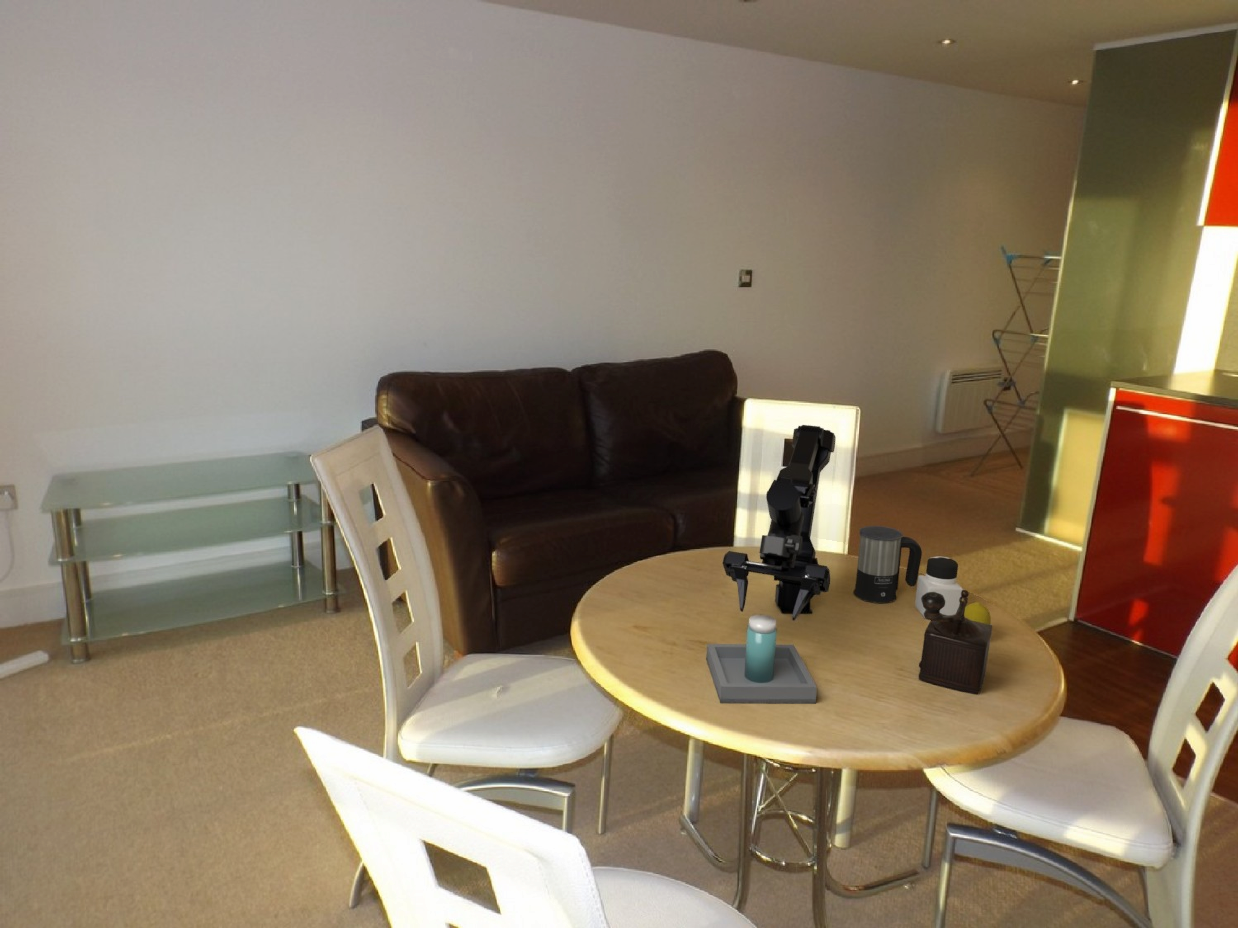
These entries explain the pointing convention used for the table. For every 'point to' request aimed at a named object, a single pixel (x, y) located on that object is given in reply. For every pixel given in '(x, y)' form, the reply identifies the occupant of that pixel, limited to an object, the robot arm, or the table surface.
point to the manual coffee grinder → (953, 647)
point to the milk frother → (884, 563)
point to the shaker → (760, 648)
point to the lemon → (977, 613)
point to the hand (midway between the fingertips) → (767, 615)
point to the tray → (784, 687)
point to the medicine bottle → (940, 584)
